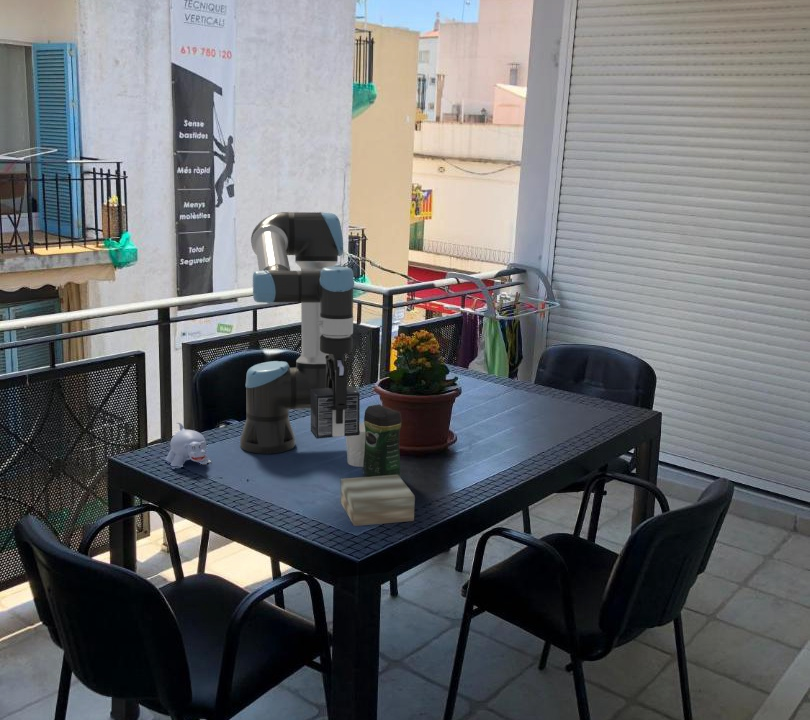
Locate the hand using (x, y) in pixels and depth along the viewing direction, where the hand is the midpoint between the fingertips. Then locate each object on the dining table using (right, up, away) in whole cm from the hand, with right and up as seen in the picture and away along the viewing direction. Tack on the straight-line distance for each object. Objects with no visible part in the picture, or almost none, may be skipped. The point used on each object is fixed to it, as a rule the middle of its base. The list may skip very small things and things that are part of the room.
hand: (335, 431), depth 217 cm
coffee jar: (+10, -13, +22) cm, 28 cm away
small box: (0, -1, 0) cm, 1 cm away
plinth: (+10, -19, -1) cm, 21 cm away
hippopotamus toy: (-40, -11, +27) cm, 49 cm away
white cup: (+4, -11, +31) cm, 33 cm away
